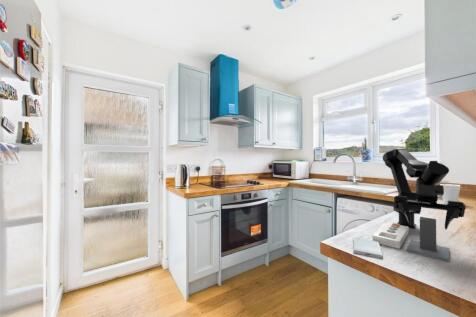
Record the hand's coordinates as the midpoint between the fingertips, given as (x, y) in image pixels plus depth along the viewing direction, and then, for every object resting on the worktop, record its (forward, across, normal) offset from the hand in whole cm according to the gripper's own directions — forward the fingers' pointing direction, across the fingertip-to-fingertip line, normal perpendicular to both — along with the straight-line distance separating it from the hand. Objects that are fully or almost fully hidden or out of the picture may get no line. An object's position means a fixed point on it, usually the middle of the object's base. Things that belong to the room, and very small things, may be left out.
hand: (426, 225), depth 70 cm
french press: (-79, +10, +93) cm, 123 cm away
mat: (+7, 0, +4) cm, 8 cm away
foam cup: (-67, +14, +80) cm, 105 cm away
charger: (+6, 0, +4) cm, 7 cm away
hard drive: (+16, -16, -3) cm, 22 cm away
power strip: (+1, -10, +10) cm, 14 cm away
